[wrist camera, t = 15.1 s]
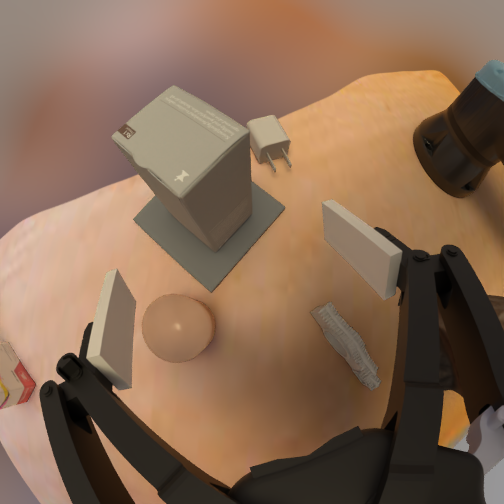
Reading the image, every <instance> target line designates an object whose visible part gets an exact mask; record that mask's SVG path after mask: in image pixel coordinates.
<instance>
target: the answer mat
mask: <svg viewBox="0 0 504 504" xmlns="http://www.w3.org/2000/svg"><path fill="white" fill-rule="evenodd" d="M251 186H252V214H251V216H250V217H249V218H248V219H247V220H246V221H245V222H244V223H243V224H242V225H241V226H240V227H239V228H238V229H237V230H236V232H235V233H234V234H233V235H232V236H231V237H230V238H229V239H228V240H227V241H226V242H225V243H224V244H223V246H222V247H221V248H220V249H219V250H218V251H217V252H214V251H212V250H211V249H210V248H209V247H208V246H206V245H205V244H204V243H203V242H202V241H201V240H200V239H198V238H197V237H196V236H195V235H194V234H193V233H191V232H190V231H189V230H188V229H187V228H186V227H185V226H183V225H182V224H181V223H180V222H179V221H178V220H177V219H176V218H175V217H174V216H173V215H172V214H171V213H170V212H169V211H168V210H167V209H166V207H165V206H164V205H163V203H162V202H161V201H160V200H159V199H158V197H157V196H156V195H155V196H154V197H153V198H152V200H151V201H150V202H149V203H148V204H147V205H146V206H145V207H144V208H143V209H142V210H141V211H140V212H139V213H138V214H137V216H136V217H135V218H134V219H133V220H134V221H135V222H136V223H137V224H138V225H139V226H140V227H141V228H142V229H143V230H144V231H145V232H146V233H147V234H148V235H149V236H150V237H151V238H152V239H153V240H154V241H155V242H156V243H158V244H159V245H160V246H161V247H162V248H163V249H164V250H165V251H166V252H167V253H168V254H169V255H170V256H171V257H172V258H173V259H175V260H176V261H177V262H178V263H179V264H180V265H181V266H182V267H183V268H184V269H185V270H187V271H188V272H189V273H190V274H191V275H192V276H193V277H194V278H195V279H197V280H198V281H199V282H200V283H201V284H202V285H203V286H204V287H206V288H207V289H208V290H209V291H210V292H211V293H212V291H213V290H214V289H215V288H216V287H217V286H218V285H219V283H220V282H221V281H222V280H223V279H224V278H225V277H226V275H227V274H228V273H229V272H230V271H231V270H232V269H233V267H234V266H235V265H236V264H237V263H238V262H239V261H240V259H241V258H242V257H243V256H244V255H245V254H246V253H247V251H248V250H249V249H250V248H251V247H252V246H253V245H254V243H255V242H256V241H257V240H258V239H259V238H260V237H261V235H262V234H263V233H264V232H265V231H266V230H267V229H268V227H269V226H270V225H271V224H272V223H273V222H274V221H275V219H276V218H277V217H278V216H279V215H280V214H281V213H282V211H283V210H284V209H285V206H283V205H282V204H281V203H280V202H278V201H277V200H276V199H274V198H273V197H272V196H271V195H269V194H268V193H267V192H265V191H264V190H263V189H261V188H260V187H259V186H258V185H256V184H255V183H254V182H252V181H251Z"/></svg>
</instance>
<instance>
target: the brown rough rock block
mask: <svg viewBox="0 0 504 504" xmlns="http://www.w3.org/2000/svg"><path fill="white" fill-rule="evenodd" d="M487 296H488V298H489V300H490V302H491V304H492V306H493V308H494V310H495V312H496V314H497V316H498V318H499V321H500V323H501V325H502V328H503V330H504V297H501V296H492V295H487ZM438 318H439V342H440V365H439V384H440V385H442V386H443V389H444V390H445V391H446V390H453V391H455V392H457V393H459V394H460V395H461V396H462V397H463V393H462V388H461V383H460V379H459V374H458V370H457V366H456V362H455V359H454V355H453V351H452V348H451V344H450V341H449V338H448V334H447V331H446V328H445V325H444V322H443V319H442V316H441V313H440V311H439V308H438Z"/></svg>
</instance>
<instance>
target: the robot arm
mask: <svg viewBox="0 0 504 504" xmlns="http://www.w3.org/2000/svg"><path fill="white" fill-rule="evenodd" d="M413 139H414V146H415V150H416V153H417V156H418V158H419V160H420V162H421V164H422V166H423V167H424V169H425V170H426V172H427V173H428V175H429V176H430V177H431V178H432V180H433V181H434V182H435V183H436V184H437V185H438V186H439V187H440V188H441V189H443V190H444V191H445V192H447V193H448V194H450V195H452V196H455V197H459V198H463V197H466V196H468V195H470V194H471V193H473V192H474V191H475V190H476V189H477V188H478V187H479V185H480V184H481V182H482V181H483V179H484V178H485V176H486V174H487V173H488V171H489V170H490V168H491V167H492V166H494V165H495V164H496V163H498V162H500V161H501V162H502V163H503V165H504V63H502V62H500V61H498V60H491V61H489V62H488V63H487V64H486V65H485V66H484V67H483V68H482V69H481V70H480V71H478V72H476V74H475V78H474V79H473V80H472V81H471V82H470V84H469V85H468V86H467V87H466V88H465V89H464V91H463V92H462V93H461V94H460V95H459V96H458V97H457V98H456V99H455V101H454V102H453V103H452V104H451V105H450V106H449V107H448V108H447V109H446V110H444V111H442V112H440V113H437V114H435V115H433V116H431V117H429V118H427V119H425V120H423V121H422V122H421V123H420V125H419V126H418V127H417V128H416V130H415V132H414V137H413ZM322 210H323V223H324V236H325V240H326V241H327V242H328V243H329V244H330V245H331V246H332V247H333V248H334V249H335V250H336V251H337V252H338V253H339V254H340V255H341V256H342V257H343V258H344V259H345V260H346V261H347V262H348V263H349V264H350V265H351V266H352V267H353V268H354V269H355V270H356V271H357V272H358V273H359V275H360V276H361V277H362V278H363V279H364V280H365V281H366V282H367V283H368V284H369V285H370V286H371V287H372V288H373V289H374V290H375V291H376V293H377V294H378V295H379V296H380V297H381V298H382V299H383V300H386V299H388V298H390V297H392V296H394V295H395V293H396V287H398V288H399V289H401V294H400V299H399V303H398V306H400V312H399V327H398V339H397V349H396V358H395V365H394V373H393V379H392V385H391V391H390V397H389V402H388V407H387V411H386V414H385V417H384V420H383V423H382V426H381V429H378V428H371V429H363V430H360V428H359V427H358V426H357V427H355V428H353V429H351V430H349V431H347V432H345V433H343V434H340V435H338V436H336V437H334V438H332V439H331V440H330V441H328V442H327V443H325V444H324V445H323V446H321V447H320V448H318V449H317V450H316V451H314V452H313V453H311V454H310V455H307V456H302V457H294V458H286V459H277V460H273V461H270V462H267V463H264V464H260V465H257V466H253V467H250V470H251V472H250V473H248V474H246V475H245V476H244V477H242V478H241V479H240V480H239V481H237V482H236V483H235V485H234V486H233V487H232V488H230V487H228V486H227V485H225V484H223V483H222V482H220V481H218V480H216V479H215V478H213V477H211V476H210V475H208V474H207V473H205V472H204V471H202V470H201V469H200V468H198V467H197V466H195V465H194V464H193V463H191V462H190V461H189V460H187V459H186V458H185V457H183V456H182V455H181V454H180V453H178V452H177V451H176V450H175V449H173V448H172V447H171V446H170V445H168V444H167V443H166V442H165V441H164V440H163V439H161V438H160V437H159V436H158V435H157V434H156V433H155V432H153V431H152V430H151V429H150V428H149V427H148V426H147V425H146V424H145V423H144V422H143V421H142V420H140V419H139V418H138V417H137V416H136V415H135V414H134V413H133V412H132V411H131V410H130V409H129V408H128V407H127V406H126V405H125V404H124V403H123V401H122V400H121V399H120V398H119V397H118V396H117V395H116V394H115V393H114V392H113V391H112V385H114V386H115V387H116V388H117V389H118V390H123V389H129V388H132V351H133V334H134V320H135V309H136V300H135V299H134V297H133V295H132V294H131V292H130V290H129V289H128V287H127V285H126V283H125V282H124V280H123V278H122V276H121V275H120V273H119V271H118V269H114V270H111V271H109V272H107V273H106V276H105V280H104V283H103V287H102V290H101V294H100V298H99V302H98V305H97V309H96V314H95V318H94V322H91V323H89V324H88V326H87V327H86V329H85V331H84V335H83V340H82V345H81V349H80V354H79V358H78V357H77V356H76V355H75V354H74V353H67V354H65V355H64V356H62V357H61V359H60V360H59V361H58V363H57V367H56V370H57V373H58V374H59V375H60V376H61V377H62V378H63V379H64V380H65V381H64V382H63V383H61V384H59V385H58V384H56V383H55V382H54V381H53V380H49V381H47V382H45V383H44V384H43V385H42V387H41V389H40V402H41V407H42V412H43V417H44V421H45V425H46V429H47V433H48V437H49V441H50V444H51V448H52V451H53V454H54V457H55V460H56V463H57V466H58V469H59V472H60V475H61V477H62V480H63V482H64V485H65V487H66V490H67V492H68V494H69V497H70V499H71V501H72V503H73V504H135V502H134V501H133V499H132V498H131V496H130V494H129V493H128V491H127V490H126V488H125V486H124V485H123V483H122V481H121V479H120V478H119V476H118V474H117V472H116V471H115V469H114V467H113V465H112V463H111V461H110V459H109V457H108V455H107V453H106V451H105V449H104V447H103V445H102V443H101V440H100V438H99V436H98V434H97V431H96V429H95V427H94V424H93V422H92V420H91V417H92V419H93V420H94V422H95V423H96V424H97V425H98V427H99V428H100V429H101V431H102V432H103V433H104V434H105V436H106V437H107V438H108V439H109V440H110V442H111V443H112V444H113V445H114V446H115V447H116V449H117V450H118V451H119V452H120V453H121V454H122V455H123V456H124V457H125V459H126V460H127V461H128V462H129V463H130V464H131V465H132V466H133V467H134V468H135V469H136V470H137V471H138V472H139V473H140V474H141V475H142V476H143V477H144V478H145V479H146V480H147V481H148V482H149V483H150V484H151V485H153V486H154V487H155V488H156V489H157V491H158V495H159V497H160V498H161V499H162V500H163V501H164V502H165V503H166V504H486V502H485V498H484V475H485V474H486V473H487V472H489V471H490V470H491V469H492V468H493V467H494V466H495V465H496V464H498V463H499V462H500V461H501V460H502V459H503V458H504V330H503V328H502V325H501V323H500V321H499V318H498V316H497V314H496V312H495V310H494V308H493V306H492V304H491V302H490V300H489V298H488V296H487V294H486V292H485V290H484V288H483V286H482V284H481V282H480V281H479V279H478V277H477V275H476V274H475V272H474V270H473V268H472V267H471V265H470V263H469V262H468V260H467V258H466V257H465V255H464V254H463V252H462V251H461V250H460V248H458V247H456V246H454V245H444V246H443V247H442V249H441V253H440V254H437V255H431V256H430V255H429V254H428V253H427V252H425V251H423V250H411V249H410V248H409V247H407V246H406V245H405V244H403V243H402V242H401V241H399V240H398V239H396V238H395V237H394V236H393V235H391V234H390V233H389V232H387V231H386V230H384V229H381V228H379V227H376V228H372V227H371V226H369V225H368V224H366V223H365V222H364V221H362V220H361V219H360V218H358V217H357V216H355V215H354V214H353V213H351V212H350V211H348V210H347V209H346V208H344V207H343V206H341V205H340V204H338V203H337V202H335V201H334V200H333V199H331V200H328V201H324V202H322ZM438 308H439V311H440V313H441V316H442V319H443V322H444V325H445V328H446V331H447V334H448V338H449V341H450V344H451V348H452V351H453V355H454V359H455V362H456V366H457V370H458V374H459V379H460V383H461V388H462V393H463V398H464V403H465V407H466V412H467V415H468V418H469V422H470V424H471V425H470V427H469V430H468V435H467V437H466V441H467V443H468V444H469V450H468V452H464V451H460V450H455V449H451V448H447V447H443V446H439V445H438V440H439V434H440V426H441V418H442V408H443V396H444V389H443V386H442V385H440V384H439V365H440V342H439V318H438ZM90 416H91V417H90Z"/></svg>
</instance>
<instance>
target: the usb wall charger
mask: <svg viewBox="0 0 504 504" xmlns="http://www.w3.org/2000/svg"><path fill="white" fill-rule="evenodd" d="M246 128H247V129H248V130H249V131H250V146H251V148H252V150H253V152H254V154H255V156H256V158H257V160H258V162H259V163H261V164H262V163H265V162H268V161H269V163H270V165H271V167H272V168H273V170H274V172H276V168H275V166H274V164H273V162H272V160H275V159H278V158H282V157H284V158H285V160H286V162H287V164H288V165H289V167H290V168H291V165H292V164H291V162H290V160H289V158H288V157H287V152H288V149H289V145H290V142H291V141H290V140H289V138H288V136H287V134H286V133H285V131H284V129H283V128H282V126H281V125H280V123H279V121H278V120H277V118H276V117H275V116H274V115H270V116H266V117H262V118H258V119H254V120H251V121H249V122H248V123H247V126H246ZM289 163H290V164H289Z"/></svg>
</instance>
